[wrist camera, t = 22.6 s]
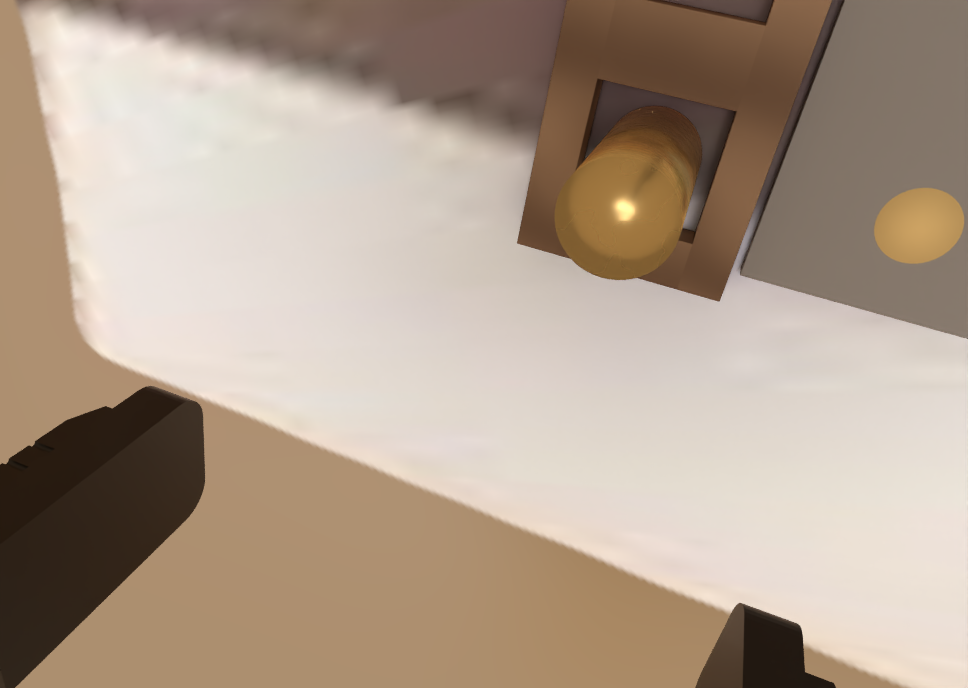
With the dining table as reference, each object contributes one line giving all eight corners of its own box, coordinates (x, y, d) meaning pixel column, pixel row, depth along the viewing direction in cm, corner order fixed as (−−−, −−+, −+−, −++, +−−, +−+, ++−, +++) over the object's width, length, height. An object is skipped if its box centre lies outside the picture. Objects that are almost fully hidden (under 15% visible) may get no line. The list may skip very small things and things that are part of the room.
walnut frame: (630, -260, 25) (622, -273, 24) (909, -220, 23) (918, -232, 22) (526, 231, 34) (516, 243, 33) (721, 287, 32) (719, 301, 31)
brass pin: (626, 90, 30) (580, 136, 22) (719, 127, 29) (704, 186, 22) (590, 181, 32) (537, 250, 25) (676, 216, 32) (649, 299, 24)
